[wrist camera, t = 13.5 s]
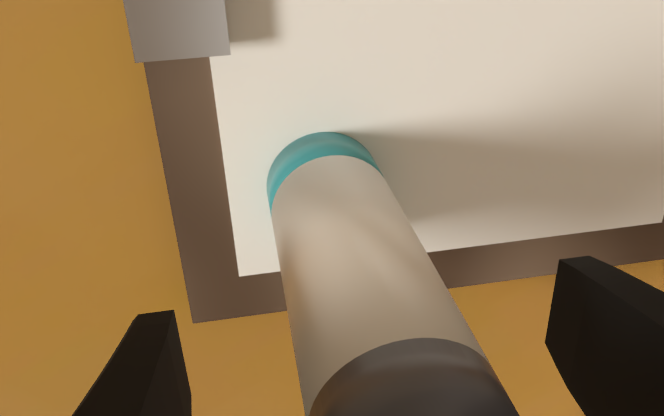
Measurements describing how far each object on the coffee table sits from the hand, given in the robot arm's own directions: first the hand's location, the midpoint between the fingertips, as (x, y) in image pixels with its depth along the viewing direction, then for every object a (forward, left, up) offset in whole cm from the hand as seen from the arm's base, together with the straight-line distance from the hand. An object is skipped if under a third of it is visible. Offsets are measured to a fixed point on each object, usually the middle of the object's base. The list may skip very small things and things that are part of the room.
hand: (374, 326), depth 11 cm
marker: (0, 0, -6) cm, 6 cm away
